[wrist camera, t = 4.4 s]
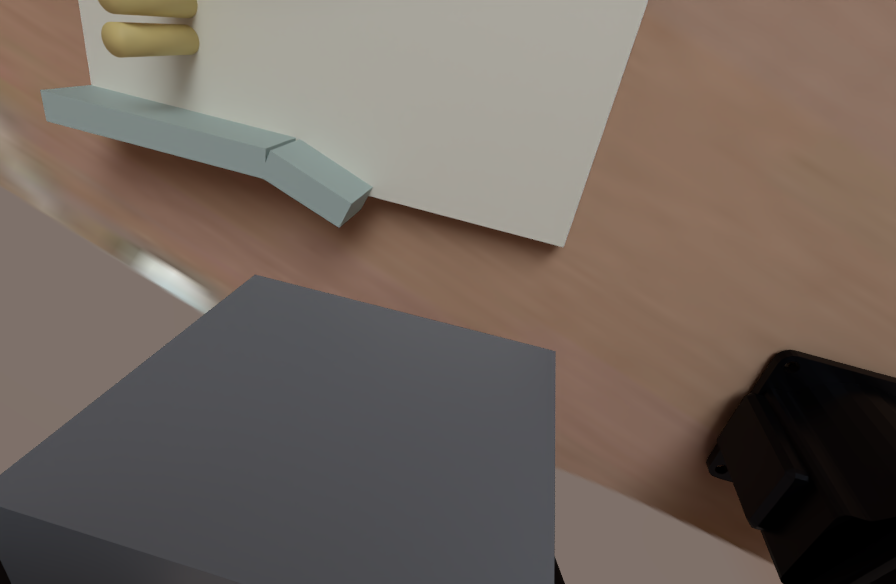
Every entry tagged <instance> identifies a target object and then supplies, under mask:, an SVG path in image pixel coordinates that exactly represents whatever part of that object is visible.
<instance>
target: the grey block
mask: <svg viewBox="0 0 896 584" xmlns="http://www.w3.org/2000/svg"><path fill="white" fill-rule="evenodd" d="M554 527H555V351H552V350H548V349H544V348H541V347H537V346H533V345H529V344H525V343H521V342H517V341H513V340H509V339H505V338H501V337H497V336H494V335H490V334H486V333H482V332H478V331H474V330H470V329H466V328H462V327H458V326H454V325H450V324H446V323H443V322H439V321H435V320H431V319H427V318H423V317H419V316H415V315H411V314H407V313H403V312H399V311H396V310H392V309H388V308H384V307H380V306H376V305H372V304H368V303H364V302H360V301H356V300H352V299H348V298H345V297H341V296H337V295H333V294H329V293H325V292H321V291H317V290H313V289H309V288H305V287H301V286H298V285H294V284H290V283H286V282H282V281H278V280H274V279H270V278H266V277H262V276H258V275H254V276H253V277H251V278H250V279H249V280H248V281H246V282H245V283H244V284H243V285H241V286H240V287H239V288H237V289H236V290H235V291H234V292H232V293H231V294H230V295H229V296H227V297H226V298H225V299H223V300H222V301H221V302H220V303H218V304H217V305H216V306H214V307H213V308H212V309H211V310H209V311H208V312H207V313H206V314H204V315H203V316H202V317H200V318H199V319H198V320H197V321H196V322H194V323H193V324H192V325H190V326H189V327H188V328H186V329H185V330H184V331H183V332H182V333H180V334H179V335H178V336H176V337H175V338H174V339H173V340H171V341H170V342H169V343H167V344H166V345H165V346H164V347H163V348H161V349H160V350H159V351H157V352H156V353H155V354H153V355H152V356H151V357H150V358H148V359H147V360H146V361H144V362H143V363H142V364H141V365H139V366H138V367H137V368H136V369H134V370H133V371H132V372H131V373H129V374H128V375H127V376H126V377H124V378H123V379H122V380H120V381H119V382H118V383H116V384H115V385H114V386H113V387H111V388H110V389H109V390H108V391H106V392H105V393H104V394H102V395H101V396H100V397H99V398H97V399H96V400H95V401H94V402H92V403H91V404H90V405H88V406H87V407H86V408H85V409H83V410H82V411H81V412H80V413H78V414H77V415H76V416H74V417H73V418H72V419H71V420H69V421H68V422H67V423H66V424H64V425H63V426H62V427H60V428H59V429H58V430H57V431H55V432H54V433H53V434H52V435H50V436H49V437H48V438H46V439H45V440H44V441H43V442H41V443H40V444H39V445H38V446H36V447H35V448H34V449H33V450H31V451H30V452H29V453H27V454H26V455H25V456H24V457H22V458H21V459H20V460H19V461H17V462H16V463H15V464H13V465H12V466H11V467H10V468H8V469H7V470H6V471H4V472H3V473H2V474H1V475H0V560H1V562H2V565H3V567H4V569H5V571H6V573H7V575H8V577H9V580H10V582H11V584H554V539H555V538H554V537H555V534H554V533H555V531H554V530H555V528H554Z"/></svg>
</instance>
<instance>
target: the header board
mask: <svg viewBox="0 0 896 584" xmlns="http://www.w3.org/2000/svg"><path fill="white" fill-rule="evenodd" d="M78 1H79V8H80V14H81V21H82V27H83V34H84V40H85V47H86V53H87V60H88V66H89V73H90V79H91V85H87V86H77V87H67V88H56V89H46V90H40V91H41V96H42V101H43V106H44V110H45V115H46V120H47V121H48V122H52V123H56V124H59V125H63V126H67V127H71V128H74V129H78V130H82V131H86V132H89V133H93V134H97V135H101V136H104V137H108V138H112V139H116V140H119V141H123V142H127V143H131V144H134V145H138V146H142V147H146V148H149V149H153V150H157V151H161V152H164V153H168V154H172V155H176V156H179V157H183V158H187V159H191V160H194V161H198V162H202V163H206V164H209V165H213V166H217V167H221V168H225V169H228V170H232V171H236V172H240V173H243V174H247V175H251V176H255V177H258V178H262V179H264V180H266V181H268V182H269V183H271V184H272V185H274V186H275V187H277V188H278V189H280V190H281V191H283V192H284V193H286V194H288V195H289V196H291V197H292V198H294V199H295V200H297V201H298V202H300V203H301V204H303V205H305V206H306V207H308V208H309V209H311V210H312V211H314V212H315V213H317V214H318V215H320V216H322V217H323V218H325V219H326V220H328V221H329V222H331V223H332V224H334V225H335V226H337V227H341V226H342V225H343V224H344V223H345V222H347V221H348V220H349V219H350V218H351V217H353V216H354V215H355V214H356V213H357V212H359V211H360V210H361V208H362V207H363V205H364V203H365V201H366V199H367V197H368V196H371V197H375V198H378V199H382V200H386V201H390V202H394V203H397V204H401V205H405V206H409V207H413V208H416V209H420V210H424V211H428V212H431V213H435V214H439V215H443V216H447V217H450V218H454V219H458V220H462V221H466V222H469V223H473V224H477V225H481V226H484V227H488V228H492V229H496V230H500V231H503V232H507V233H511V234H515V235H519V236H522V237H526V238H530V239H534V240H537V241H541V242H545V243H549V244H553V245H556V246H560V247H564V245H565V242H566V239H567V236H568V233H569V230H570V227H571V224H572V221H573V218H574V215H575V213H576V210H577V207H578V204H579V201H580V198H581V195H582V192H583V189H584V186H585V183H586V180H587V178H588V175H589V172H590V169H591V166H592V163H593V160H594V157H595V154H596V151H597V148H598V145H599V143H600V140H601V137H602V134H603V131H604V128H605V125H606V122H607V119H608V116H609V113H610V110H611V108H612V105H613V102H614V99H615V96H616V93H617V90H618V87H619V84H620V81H621V78H622V75H623V73H624V70H625V67H626V64H627V61H628V58H629V55H630V52H631V49H632V46H633V43H634V40H635V38H636V35H637V32H638V29H639V26H640V23H641V20H642V17H643V14H644V11H645V8H646V5H647V3H648V0H78Z"/></svg>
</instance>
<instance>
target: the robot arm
mask: <svg viewBox="0 0 896 584" xmlns="http://www.w3.org/2000/svg"><path fill="white" fill-rule="evenodd" d="M789 362H795V363H794V364H793V365H792V366H789V367H784V366H785V365H786V364H787V363H789ZM717 442H718V443H717V445H716V446H715V448H714V449H713V451H712V452H711V454H710V455H709V457H708V458H707V461H706V464H707V467H708V470H709V473H710V474H711V475H712V476H714V477H717V478H720V479H723V480H727V481H730V482H733V484H734V487H735V489H736V492H737V495H738V497H739V500H740V502H741V505H742V508H743V510H744V513H745V516H746V518H747V520H748V522H749V524H750V525H751V527H752V528H755V529H759V530H761V533H762V535H763V538H764V540H765V543H766V545H767V548H768V550H769V553H770V555H771V558H772V560H773V563H774V565H775V568H776V570H777V572H778V575H779V577H780V580H781V582H782V583H783V584H896V378H894V377H891V376H887V375H883V374H880V373H876V372H872V371H869V370H865V369H861V368H858V367H854V366H850V365H847V364H843V363H839V362H835V361H832V360H828V359H824V358H821V357H817V356H813V355H810V354H806V353H802V352H799V351H795V350H785V351H782V352H780V353H778V354H777V355H776V356H775V357H774V358H773V359H772V361H771V362H770V364H769V365H768V367H767V368H766V370H765V372H764V373H763V375H762V376H761V378H760V379H759V381H758V382H757V384H756V385H755V387H754V388H753V390H752V391H751V393H750V394H748V395H747V396H745V397H744V399H743V400H742V402H741V403H740V405H739V406H738V408H737V409H736V411H735V413H734V414H733V416H732V417H731V419H730V420H729V422H728V423H727V425H726V426H725V428H724V429H723V431H722V432H721V434H720V436H719V437H718V439H717ZM718 465H723V466H721V467H717V466H718ZM0 584H11V582H10V580H9V577H8V575H7V573H6V571H5V569H4V567H3V565H2V562H1V560H0ZM554 584H565V583H564V581H563V578H562V575H561V572H560V570H559V567H558V564H557V562H556V559H555V556H554Z"/></svg>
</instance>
